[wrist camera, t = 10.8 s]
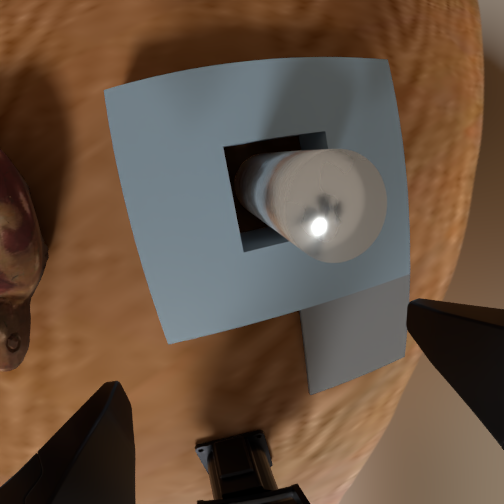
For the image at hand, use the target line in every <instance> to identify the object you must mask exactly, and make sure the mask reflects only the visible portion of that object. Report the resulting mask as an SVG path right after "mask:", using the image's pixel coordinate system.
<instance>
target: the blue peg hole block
mask: <svg viewBox="0 0 504 504" xmlns="http://www.w3.org/2000/svg"><path fill="white" fill-rule="evenodd" d="M104 95H105V102H106V108H107V115H108V121H109V127H110V132H111V138H112V143H113V148H114V154H115V159H116V163H117V168H118V173H119V178H120V182H121V187H122V191H123V195H124V199H125V204H126V208H127V212H128V216H129V220H130V223H131V227H132V231H133V235H134V238H135V242H136V246H137V249H138V253H139V256H140V260H141V263H142V267H143V270H144V273H145V276H146V280H147V283H148V286H149V289H150V292H151V295H152V299H153V302H154V305H155V308H156V311H157V314H158V317H159V319H160V322H161V325H162V328H163V331H164V334H165V336H166V339H167V342H168V344H172V343H177V342H181V341H185V340H190V339H194V338H198V337H202V336H206V335H210V334H215V333H219V332H222V331H226V330H230V329H234V328H238V327H242V326H246V325H249V324H253V323H257V322H260V321H264V320H268V319H271V318H275V317H278V316H282V315H285V314H289V313H292V312H295V311H299V310H302V309H306V308H309V307H312V306H315V305H319V304H322V303H325V302H328V301H332V300H335V299H338V298H341V297H344V296H347V295H350V294H353V293H356V292H359V291H362V290H365V289H368V288H371V287H374V286H377V285H380V284H383V283H386V282H389V281H392V280H394V279H397V278H400V277H403V276H406V275H408V274H410V229H409V206H408V190H407V178H406V167H405V158H404V149H403V141H402V134H401V127H400V120H399V114H398V108H397V103H396V97H395V92H394V87H393V82H392V77H391V72H390V68H389V63H388V60H386V59H372V58H352V57H299V58H279V59H265V60H254V61H244V62H235V63H227V64H220V65H213V66H207V67H200V68H195V69H189V70H184V71H179V72H174V73H169V74H164V75H160V76H155V77H151V78H147V79H143V80H139V81H135V82H131V83H127V84H124V85H120V86H116V87H113V88H110V89H106V90H104ZM293 136H299V140H300V146H301V150H321V149H347V150H351V151H354V152H357V153H359V154H361V155H362V156H364V157H365V158H367V159H368V160H369V161H370V162H371V163H372V164H373V165H374V166H375V167H376V169H377V170H378V172H379V173H380V175H381V177H382V180H383V182H384V185H385V189H386V195H387V211H386V217H385V221H384V224H383V227H382V229H381V231H380V233H379V235H378V237H377V238H376V240H375V241H374V242H373V244H372V245H371V246H370V247H369V248H368V249H367V250H366V251H365V252H363V253H362V254H360V255H359V256H357V257H355V258H353V259H351V260H348V261H345V262H340V263H326V262H322V261H319V260H316V259H314V258H312V257H310V256H309V255H307V254H306V253H305V252H303V251H302V250H301V249H299V248H298V247H297V246H295V245H294V244H293V243H291V242H290V241H289V240H287V239H286V238H285V237H283V236H282V235H281V234H279V233H278V232H277V231H275V230H274V229H272V228H271V227H270V226H269V227H264V228H260V229H256V230H251V231H247V232H243V233H240V231H239V226H238V221H237V216H236V211H235V206H234V201H233V195H232V190H231V185H230V180H229V175H228V170H227V164H226V159H225V154H224V149H223V148H226V147H231V146H236V145H242V144H247V143H253V142H259V141H266V140H272V139H279V138H285V137H293Z"/></svg>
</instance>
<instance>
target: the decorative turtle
mask: <svg viewBox="0 0 504 504" xmlns="http://www.w3.org/2000/svg"><path fill="white" fill-rule="evenodd" d="M44 241H45V240H44V239H43V237H42V236H41V232H40V228H39V224H38V219H37V216H36V213H35V209H34V206H33V203H32V200H31V197H30V192H29V186H28V184H27V183H26V182H25V181H24V179H23V177H22V176H21V175H20V173H19V172H18V170H17V169H16V167H15V166H14V165H13V163H12V162H11V160H10V159H9V158H8V157H7V156H6V154H5V153H4V152H3V151H2V150H1V149H0V371H10V370H13V369H15V368H17V367H18V366H19V365H20V364H21V363H22V361H23V359H24V357H25V355H26V353H27V350H28V347H29V342H30V324H31V315H30V301H31V297H32V295H33V293H34V291H35V289H36V288H37V286H38V284H39V282H40V280H41V277H42V275H43V272H44V269H45V266H46V262H47V260H48V247H47V245H46V244H44Z"/></svg>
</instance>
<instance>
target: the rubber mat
mask: <svg viewBox="0 0 504 504" xmlns="http://www.w3.org/2000/svg"><path fill="white" fill-rule="evenodd" d="M409 291H410V274H408V275H406V276H403V277H400V278H397V279H394V280H392V281H389V282H386V283H383V284H380V285H377V286H374V287H371V288H368V289H365V290H362V291H359V292H356V293H353V294H350V295H347V296H344V297H341V298H338V299H335V300H332V301H328V302H325V303H322V304H319V305H315V306H312V307H309V308H306V309H302V310H299V311H300V319H301V327H302V335H303V344H304V352H305V361H306V370H307V379H308V389H309V393H310V395H312V394H315V393H318V392H321V391H324V390H326V389H329V388H332V387H335V386H337V385H340V384H342V383H345V382H347V381H350V380H352V379H355V378H357V377H360V376H362V375H365V374H367V373H369V372H372V371H374V370H376V369H379V368H381V367H383V366H385V365H388V364H390V363H392V362H394V361H396V360H399V359H401V358H403V357H405V348H406V338H407V327H406V319H407V306H408V303H409Z"/></svg>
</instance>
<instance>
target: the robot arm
mask: <svg viewBox="0 0 504 504" xmlns="http://www.w3.org/2000/svg"><path fill="white" fill-rule="evenodd" d="M406 327H407V330H408V332H409V333H410V334H411V336H412V337H413V339H414V340H415V341H416V343H417V344H418V345H419V347H420V348H421V350H422V351H423V352H424V354H425V355H426V356H427V358H428V359H429V361H430V362H431V363H432V364H433V366H434V367H435V368H436V369H437V370H438V371H439V372H440V374H441V375H442V376H443V377H444V378H445V379H446V380H447V382H448V383H449V384H450V385H451V386H452V387H453V388H454V390H455V391H456V392H457V393H458V394H459V396H460V397H461V398H462V399H463V400H464V401H465V403H466V404H467V405H468V406H469V407H470V409H471V410H472V411H473V412H474V413H475V415H476V416H477V417H478V418H479V420H480V421H481V422H482V423H483V424H484V426H485V427H486V428H487V429H488V431H489V432H490V433H491V434H492V436H493V437H494V438H495V439H496V441H497V442H498V443H499V444H500V446H502V449H503V450H504V309H496V308H488V307H481V306H473V305H465V304H458V303H450V302H443V301H435V300H428V299H421V298H419V299H416V300H413V301H411V302H409V303H408V306H407V319H406ZM195 450H196V453H197V455H198V457H199V458H200V460H201V462H202V464H203V465H204V467H205V469H206V471H207V472H208V474H209V477H210V483H211V488H212V493H213V498H214V500H208V501H203V500H199V501H197V504H310V503H309V501H308V499H307V498H306V496H305V495H304V493H303V492H302V490H301V488H300V487H299V485H298V484H294V485H291V486H290V487H285V488H281V489H278V487H277V484H276V482H275V479H274V476H273V474H272V471H271V468H270V467H271V466H272V461H271V457H270V454H269V450H268V446H267V443H266V439H265V435H264V433H263V431H261V430H257V431H253V432H250V433H246V434H242V435H238V436H234V437H230V438H226V439H221V440H217V441H212V442H208V443H203V444H198V445H196V446H195ZM0 504H135V443H134V432H133V420H132V408H131V404H130V401H129V399H128V397H127V395H126V393H125V391H124V389H123V387H122V385H121V384H120V382H118V381H112V382H106V383H104V384H103V385H102V386H101V387H100V388H99V389H98V390H97V391H96V392H95V393H94V394H93V395H92V396H91V397H90V399H89V400H88V401H87V402H86V403H85V404H84V405H83V406H82V407H81V408H80V409H79V410H78V411H77V412H76V413H75V414H74V415H73V416H72V417H71V418H70V419H69V420H68V421H67V422H66V423H65V424H64V425H63V426H62V427H61V428H60V429H59V430H58V431H57V432H56V433H55V434H54V435H53V436H52V437H51V438H50V439H49V441H48V442H47V443H46V444H45V445H44V446H43V447H42V448H41V449H40V450H39V451H38V454H37V453H36V454H35V455H34V456H33V457H32V458H31V459H30V460H29V461H28V462H27V463H26V464H25V465H24V466H23V467H22V468H21V469H20V470H19V471H18V472H17V473H16V474H15V475H14V476H13V477H11V478H10V479H9V480H8V481H7V482H6V483H5V484H3V485H2V486H1V487H0Z"/></svg>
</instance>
